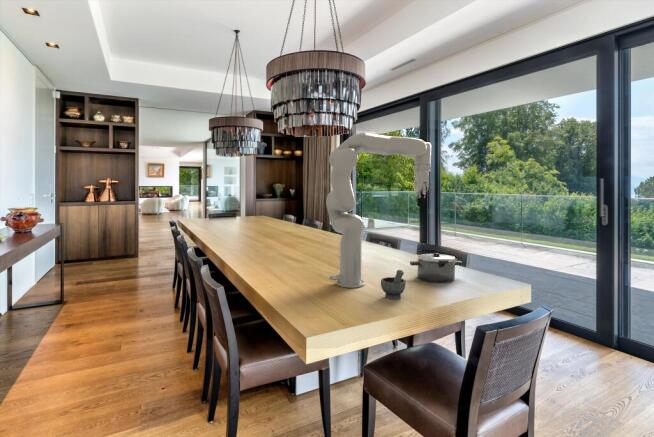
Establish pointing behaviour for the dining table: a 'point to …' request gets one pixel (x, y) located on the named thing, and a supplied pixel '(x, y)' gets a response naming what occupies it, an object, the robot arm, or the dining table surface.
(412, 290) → the dining table surface
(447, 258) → the pot lid
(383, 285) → the mortar and pestle
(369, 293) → the dining table surface
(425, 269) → the pot
